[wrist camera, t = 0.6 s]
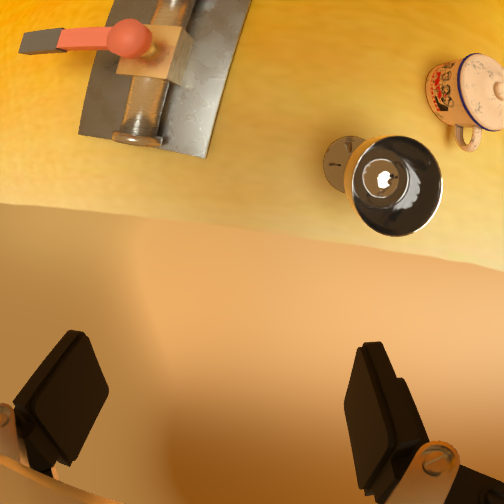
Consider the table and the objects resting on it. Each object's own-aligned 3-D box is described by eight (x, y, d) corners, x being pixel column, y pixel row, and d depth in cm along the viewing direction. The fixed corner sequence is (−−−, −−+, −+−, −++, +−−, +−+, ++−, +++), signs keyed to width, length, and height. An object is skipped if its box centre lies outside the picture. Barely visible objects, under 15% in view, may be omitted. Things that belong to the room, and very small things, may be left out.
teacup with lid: (424, 54, 29) (473, 35, 18) (476, 76, 28) (530, 69, 18) (417, 139, 33) (468, 146, 22) (470, 155, 33) (524, 169, 22)
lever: (157, 26, 22) (147, 18, 19) (146, 60, 23) (136, 55, 21) (37, 31, 21) (25, 27, 19) (29, 59, 22) (16, 58, 20)
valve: (128, -24, 26) (96, -52, 17) (257, -16, 27) (254, -55, 18) (82, 134, 35) (37, 139, 26) (206, 157, 36) (185, 166, 27)
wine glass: (311, 186, 36) (338, 221, 23) (329, 124, 33) (368, 120, 20) (371, 204, 37) (423, 247, 23) (389, 145, 34) (453, 157, 20)
